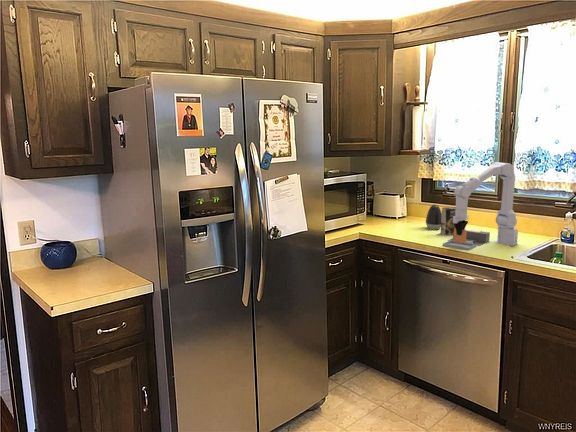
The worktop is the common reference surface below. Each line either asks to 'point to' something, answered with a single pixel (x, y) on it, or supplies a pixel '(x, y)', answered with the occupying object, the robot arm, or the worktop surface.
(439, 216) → the dark grey egg shape
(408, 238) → the worktop surface
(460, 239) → the end ticket
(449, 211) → the coffee box
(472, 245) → the collection tray
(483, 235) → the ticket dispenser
